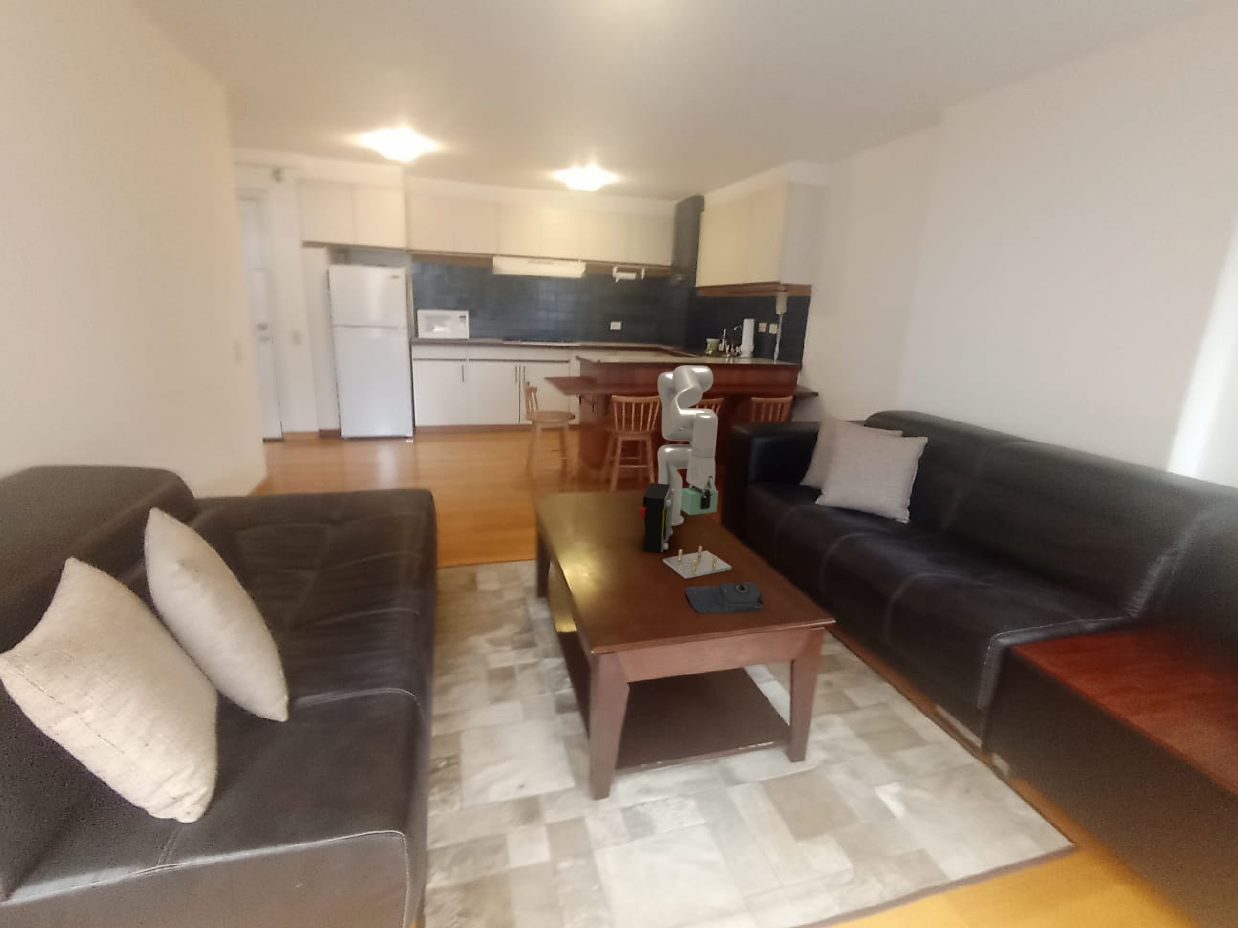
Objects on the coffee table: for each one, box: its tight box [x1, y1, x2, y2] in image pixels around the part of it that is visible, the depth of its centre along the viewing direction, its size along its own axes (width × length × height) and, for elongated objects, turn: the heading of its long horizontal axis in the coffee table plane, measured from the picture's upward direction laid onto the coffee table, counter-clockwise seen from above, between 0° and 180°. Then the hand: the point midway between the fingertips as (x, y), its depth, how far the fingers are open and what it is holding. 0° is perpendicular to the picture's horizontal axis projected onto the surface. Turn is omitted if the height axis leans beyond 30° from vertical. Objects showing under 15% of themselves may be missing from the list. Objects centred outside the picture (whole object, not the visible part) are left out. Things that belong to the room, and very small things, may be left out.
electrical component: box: [640, 482, 675, 554], centre depth 209 cm, size 18×10×20 cm, turn 168°
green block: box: [680, 486, 719, 516], centre depth 188 cm, size 6×10×8 cm, turn 113°
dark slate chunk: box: [685, 580, 765, 615], centre depth 171 cm, size 15×22×5 cm
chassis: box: [662, 545, 732, 579], centre depth 193 cm, size 14×18×4 cm
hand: (699, 504), depth 188 cm, fingers closed on green block, 6 cm apart
